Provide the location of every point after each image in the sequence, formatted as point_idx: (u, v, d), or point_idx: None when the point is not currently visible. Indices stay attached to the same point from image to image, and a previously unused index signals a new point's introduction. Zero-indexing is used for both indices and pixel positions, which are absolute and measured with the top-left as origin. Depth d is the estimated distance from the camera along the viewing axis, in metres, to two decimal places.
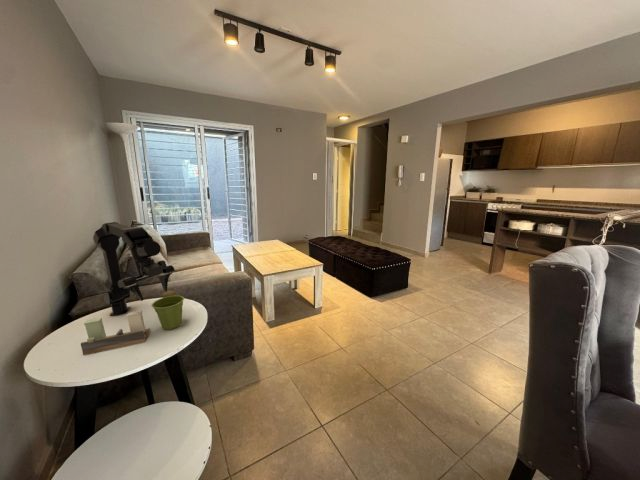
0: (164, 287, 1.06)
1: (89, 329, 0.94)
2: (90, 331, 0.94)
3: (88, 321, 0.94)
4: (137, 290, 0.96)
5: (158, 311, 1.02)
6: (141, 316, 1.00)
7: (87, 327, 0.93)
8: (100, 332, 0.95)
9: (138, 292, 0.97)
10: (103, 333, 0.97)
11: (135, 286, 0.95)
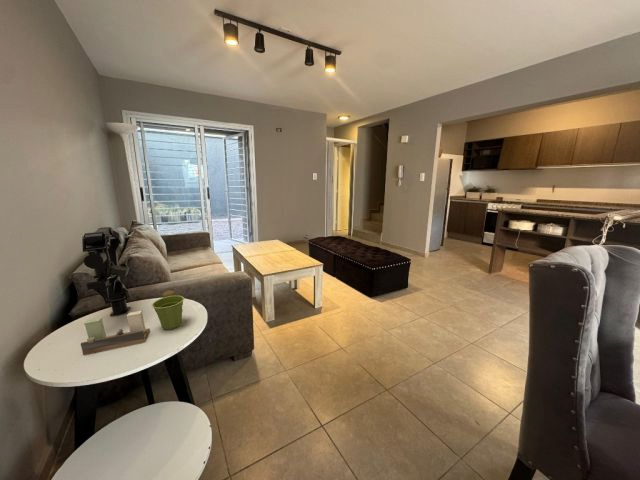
0: (111, 289, 1.11)
1: (89, 329, 0.94)
2: (90, 331, 0.94)
3: (88, 321, 0.94)
4: (107, 289, 1.05)
5: (158, 311, 1.02)
6: (141, 316, 1.00)
7: (87, 327, 0.93)
8: (100, 332, 0.95)
9: (107, 291, 1.05)
10: (103, 333, 0.97)
11: (109, 285, 1.04)
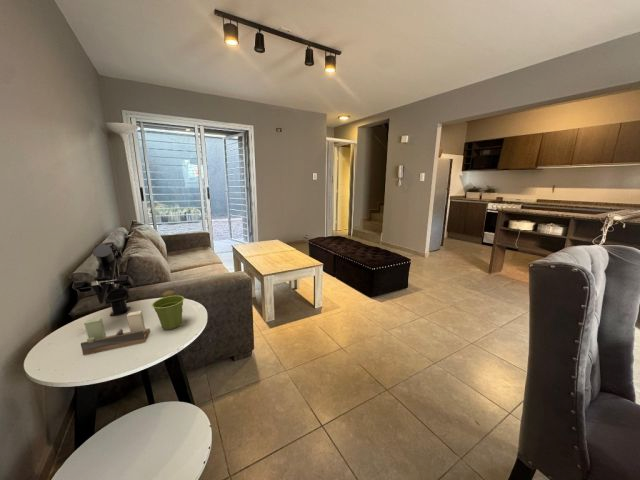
0: None
1: (89, 329, 0.94)
2: (90, 331, 0.94)
3: (88, 321, 0.94)
4: None
5: (158, 311, 1.02)
6: (141, 316, 1.00)
7: (87, 327, 0.93)
8: (100, 332, 0.95)
9: None
10: (103, 333, 0.97)
11: None
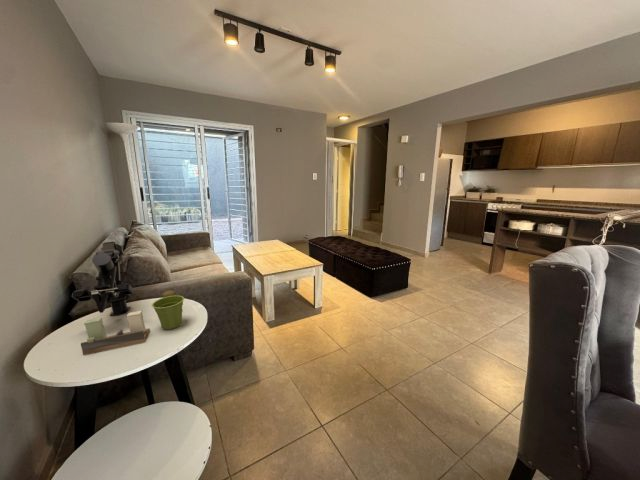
0: None
1: (89, 329, 0.94)
2: (90, 331, 0.94)
3: (88, 321, 0.94)
4: None
5: (158, 311, 1.02)
6: (141, 316, 1.00)
7: (87, 327, 0.93)
8: (100, 332, 0.95)
9: None
10: (103, 333, 0.97)
11: None
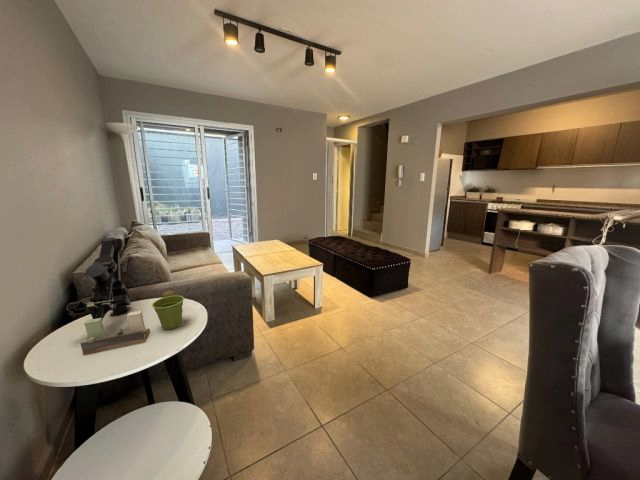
0: None
1: (89, 329, 0.94)
2: (90, 331, 0.94)
3: (88, 321, 0.94)
4: None
5: (158, 311, 1.02)
6: (141, 316, 1.00)
7: (87, 327, 0.93)
8: (100, 332, 0.95)
9: None
10: (103, 333, 0.96)
11: None
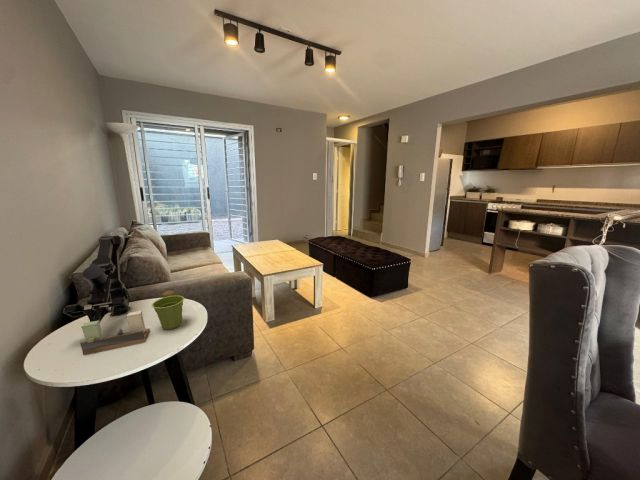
0: None
1: (86, 332, 0.92)
2: (87, 334, 0.92)
3: (85, 324, 0.92)
4: None
5: (158, 311, 1.02)
6: (141, 316, 1.00)
7: (84, 330, 0.91)
8: (97, 335, 0.93)
9: None
10: (101, 336, 0.95)
11: None
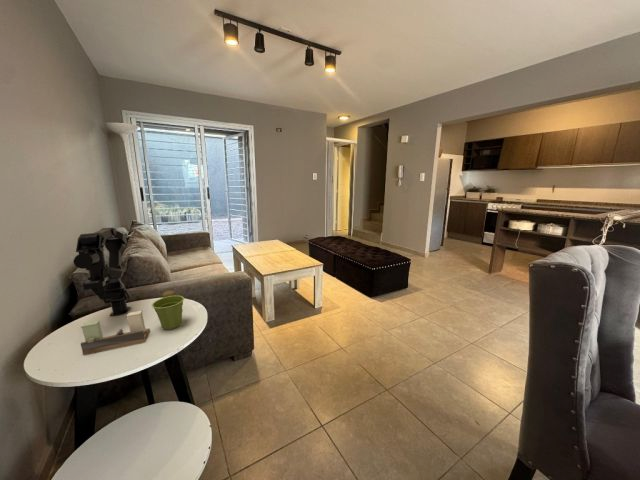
0: None
1: (86, 332, 0.92)
2: (87, 334, 0.92)
3: (85, 324, 0.92)
4: (104, 289, 1.06)
5: (158, 311, 1.02)
6: (141, 316, 1.00)
7: (84, 330, 0.91)
8: (97, 335, 0.93)
9: (104, 291, 1.06)
10: (101, 336, 0.95)
11: (106, 284, 1.06)
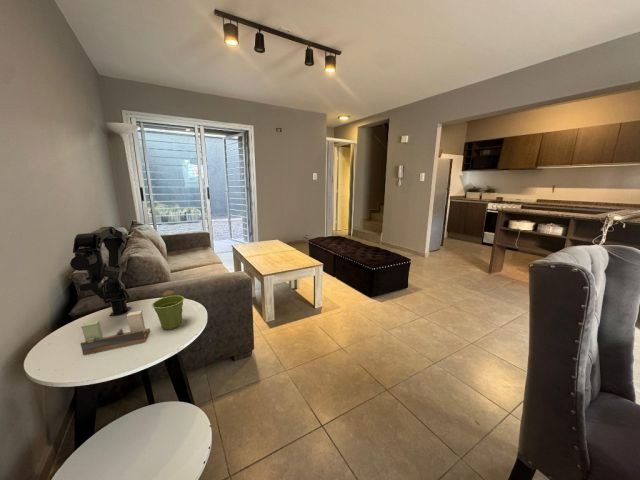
0: None
1: (86, 332, 0.92)
2: (87, 334, 0.92)
3: (85, 324, 0.92)
4: (103, 288, 1.06)
5: (158, 311, 1.02)
6: (141, 316, 1.00)
7: (84, 330, 0.91)
8: (97, 335, 0.93)
9: (103, 290, 1.06)
10: (101, 336, 0.95)
11: (104, 284, 1.05)
